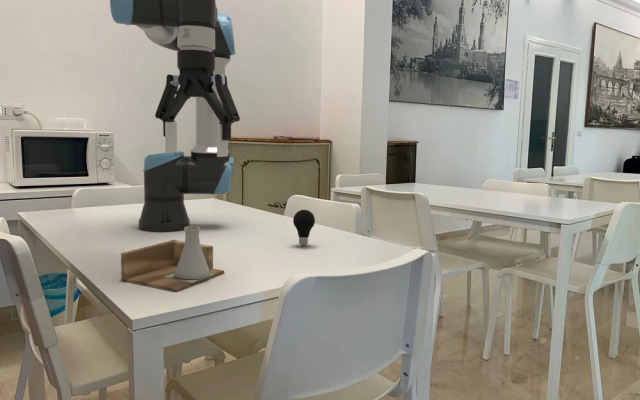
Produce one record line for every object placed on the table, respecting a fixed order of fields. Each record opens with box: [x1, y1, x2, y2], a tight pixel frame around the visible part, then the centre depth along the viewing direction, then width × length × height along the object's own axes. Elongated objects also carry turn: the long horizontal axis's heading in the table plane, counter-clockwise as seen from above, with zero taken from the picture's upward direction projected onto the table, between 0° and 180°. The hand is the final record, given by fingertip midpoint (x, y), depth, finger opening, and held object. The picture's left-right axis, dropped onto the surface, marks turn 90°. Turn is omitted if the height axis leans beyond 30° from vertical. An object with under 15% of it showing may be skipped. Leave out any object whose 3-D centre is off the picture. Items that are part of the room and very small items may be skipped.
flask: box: [174, 225, 210, 279], centre depth 102 cm, size 7×7×10 cm
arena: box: [120, 239, 225, 293], centre depth 104 cm, size 14×15×6 cm
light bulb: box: [292, 209, 316, 247], centre depth 136 cm, size 6×6×10 cm
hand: (196, 154), depth 106 cm, fingers open, 13 cm apart
